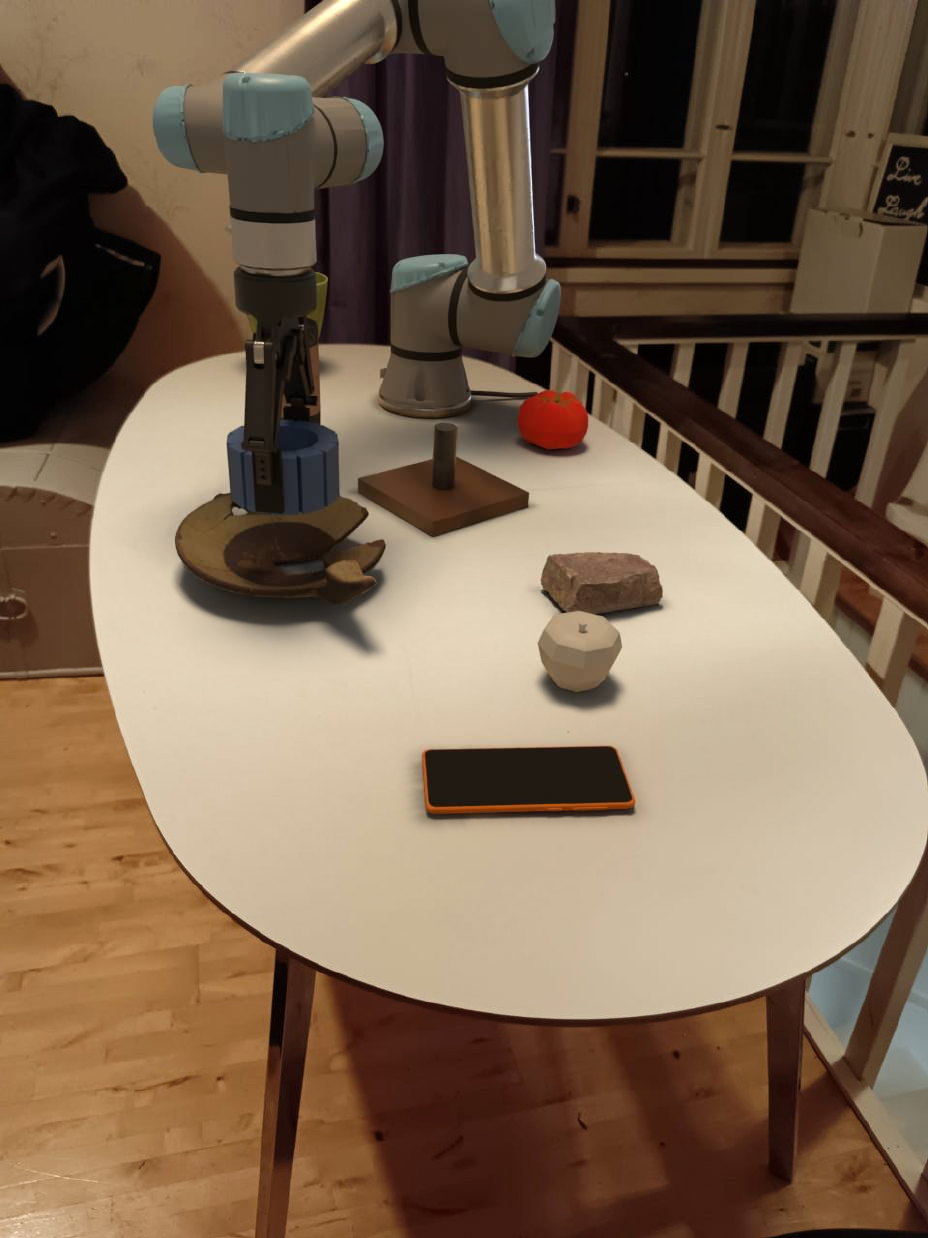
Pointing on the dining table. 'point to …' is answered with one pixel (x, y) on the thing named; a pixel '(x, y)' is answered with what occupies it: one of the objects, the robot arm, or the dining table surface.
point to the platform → (443, 489)
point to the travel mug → (314, 354)
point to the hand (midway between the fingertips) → (285, 487)
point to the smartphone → (525, 779)
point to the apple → (579, 649)
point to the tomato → (553, 420)
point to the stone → (601, 581)
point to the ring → (291, 467)
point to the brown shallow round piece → (278, 550)
